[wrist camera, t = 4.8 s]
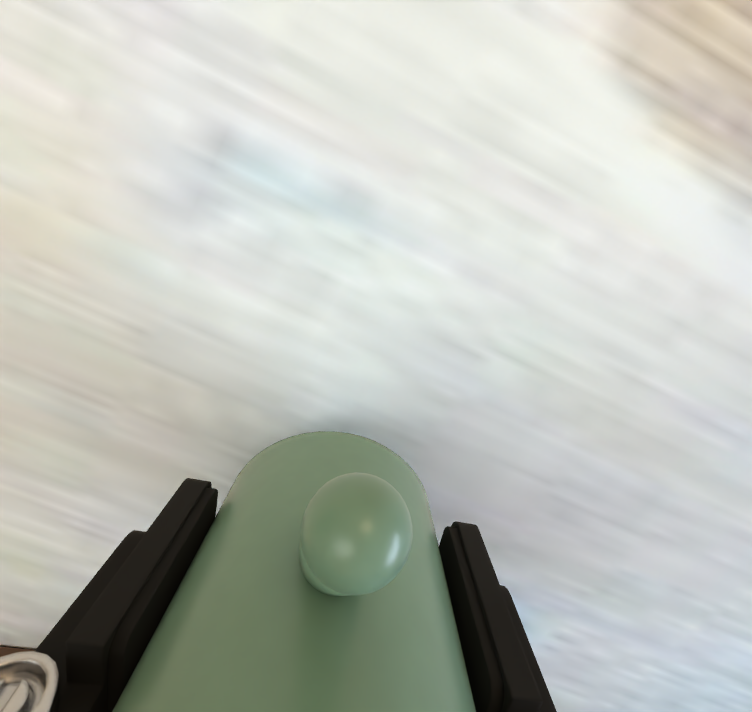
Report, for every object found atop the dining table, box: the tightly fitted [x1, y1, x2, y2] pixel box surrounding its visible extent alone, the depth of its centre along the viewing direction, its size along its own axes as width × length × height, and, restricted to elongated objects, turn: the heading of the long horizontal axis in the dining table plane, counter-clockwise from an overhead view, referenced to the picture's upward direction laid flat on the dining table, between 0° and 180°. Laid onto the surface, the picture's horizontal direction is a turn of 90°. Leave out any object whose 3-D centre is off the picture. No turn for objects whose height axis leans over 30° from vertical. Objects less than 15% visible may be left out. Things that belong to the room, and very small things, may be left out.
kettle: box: [112, 432, 476, 712], centre depth 6 cm, size 8×6×9 cm
